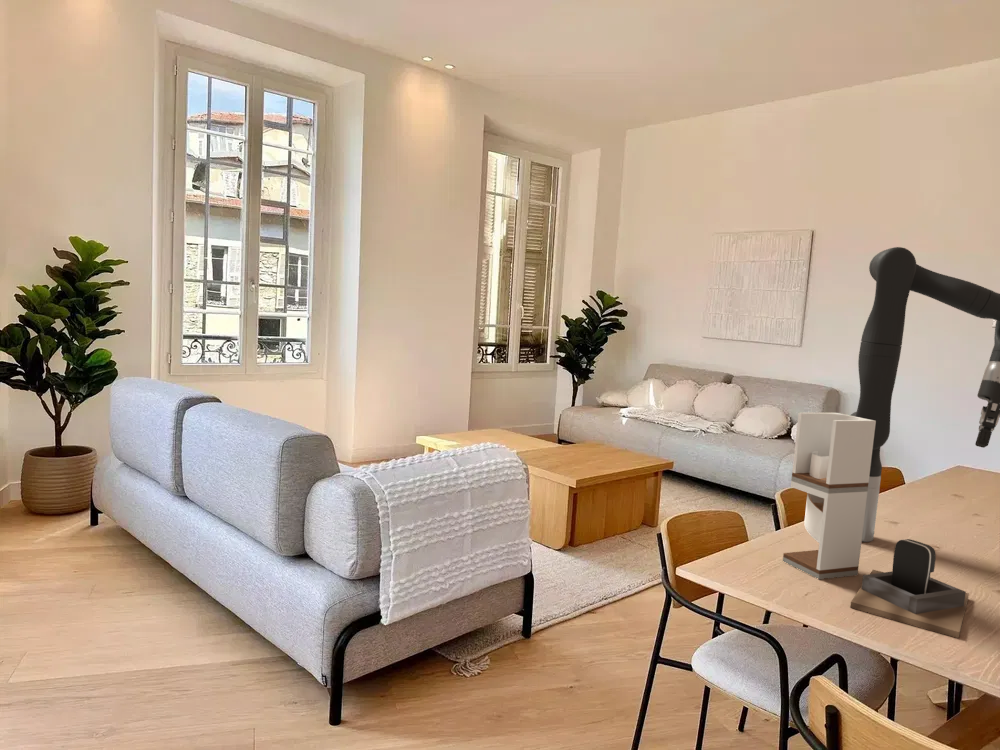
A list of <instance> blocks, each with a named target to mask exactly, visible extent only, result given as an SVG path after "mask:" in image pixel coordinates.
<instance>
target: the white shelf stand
mask: <svg viewBox="0 0 1000 750" xmlns="http://www.w3.org/2000/svg"><path fill="white" fill-rule="evenodd" d="M797 414H798V415H797V424H796V433H795V442H794V443H795V444H794V452H793V462H792V471H791V480H790V488H792V489H796V490H799V491H802V492H804V493H807V495H806V504H805V515H804V521H803V524H804V528H805V530H806V531H807V533H808V534H809V535H810V537H811V538H812V539H813V540H815V541H816V542H817V543H818V549H813V550H802V551H790V552H783V554H782V555H783V556H782V562H783V561H784V562H786V563H788V564H790V565H792V566H794V567H796V568H798V569H800V570H802V571H804V572H806V573H808V574H810V575H812V576H814V577H813V578H815V577H816V578H815V579H817V578H818V579H817V580H825V579H824V578H828V579H835V578H834V577H837V578H844V576H845V577H852V576H853V575H854V576H858V574H859V567H860V566H859V564H860V559H861V558H860V557H861V550H862V542H863V541H862V533H863V525H864V517H865V508H866V500H867V491H868V483H869V475H870V466H871V458H872V449H873V441H874V432H875V424H876V421H874V420H870V419H865V418H860V417H855V416H850V415H851V414H850V415H849V414H846V413H845V414H844V413H840V412H798V413H797ZM784 562H783V563H784ZM786 563H785V564H786ZM788 564H787V565H788ZM790 565H789V566H790ZM792 566H791V567H792ZM794 567H793V568H794ZM796 568H795V569H796ZM798 569H797V570H798ZM800 570H799V571H800ZM802 571H801V572H802ZM804 572H803V573H804ZM806 573H805V574H806ZM808 574H807V575H808ZM810 575H809V576H810ZM812 576H811V577H812ZM854 576H853V577H854Z"/></svg>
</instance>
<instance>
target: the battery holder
mask: <svg viewBox="0 0 1000 750" xmlns="http://www.w3.org/2000/svg"><path fill="white" fill-rule="evenodd" d="M891 581H892V571H887V572H884V571H880V570H876V569H871V571H870V573H868V574H863V575H862V583H861V586H860V588H859V589H858V591H857V593H855V596H853V598H852V599H851V601H850V606H849V607H851V608H850V609H853V608H854V610H856V611H860V610H861V611H860V612H864V613H867V612H868V613H869V614H871V615H876V616H877V617H882V618H886V619H889V620H893V621H896V622H899V623H903V624H907V625H909V626H914V627H918V628H921V629H924V630H927V631H932V632H935V633H938V634H940V635H941V634H942V635H945V636H948V637H953V638H955V639H959V637H960V634H961V630H962V624H963V621H964V618H965V617H964V616H965V613H966V609H967V605H968V600H969V595H970V594H969V592H967V591H965V590H962V589H960V588H958V587H955V586H953V585H951V584H948V583H945V582H942V581H941V580H938V579H936V578H933V577H931V576H930V579H929V584H928V593H926V594H920V595H914V594H912V593H909V592H907V591H905V590H902V589H900V588H898V587H896V586H893V585H891Z"/></svg>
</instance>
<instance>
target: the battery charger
mask: <svg viewBox="0 0 1000 750" xmlns="http://www.w3.org/2000/svg"><path fill="white" fill-rule="evenodd" d="M893 551H894V552H893V560H892V561H893V562H892V571H891V572H892V581H891V585H893V586H896V587H898V588H900V589H902V590H905V591H907V592H909V593H912V594H914V595H920V594H926V593H928V584H929V579H930V577H931V573H934V572H935V568H936V567H935V566H936V558H937V557H936V553H937V552H936V550H935V548H934V547H933V546H931V545H929V544H926V543H923V542H920V541H917V540H914V539H911V538H907V539H903V538H902V539H899V540H898V541H896V543H895V546H894V550H893Z"/></svg>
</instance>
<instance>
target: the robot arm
mask: <svg viewBox="0 0 1000 750" xmlns="http://www.w3.org/2000/svg"><path fill="white" fill-rule="evenodd" d="M916 260H917V259H916V258H915V255H914V254H913V253H912V252H911V251H910V250H909V249H907V248H905V247H901V246H895V247H890V248H888V249H884V250H882V251H880V252H879V253H877V254H875V255H874V256H873V257H872V259H871V260H870V262H869V267H868V268H869V269H868V270H869V271H868V272H869V275H870V276H871V277H872V279H873V280H874V281H875V282H876V283H875V294H874V300H873V304H872V308H871V311H870V313H869V315H868V317H867V320H866V323H865V325H864V328H863V331H862V335H861V340H860V341H861V342H860V346H859V353H858V361H857V362H858V363H857V364H858V379H859V388H860V389H859V391H860V392H859V393H860V394H859V399H858V403H857V408H856V411H854V412H852V413H851V414H850V416H855V417H860V418H865V419H870V420H874V421H876V424H875V432H874V441H873V449H872V458H871V466H870V475H869V483H868V491H867V500H866V508H865V517H864V525H863V533H862V542H864V543H866V542H873V540H874V536H875V529H876V521H877V510H878V506H879V505H878V503H879V495H880V487H881V480H882V470H883V466H882V461H881V447H883V446H884V445H885V444H886V443H887V441H888V439H889V437H890V432H891V411H892V397H893V393H894V392H893V391H894V388H895V384H896V379H897V374H898V368H899V362H900V358H901V353H902V352H901V351H902V347H903V346H902V345H903V339H904V330H905V321H906V320H905V319H906V312H907V311H906V309H907V304H908V299H909V296H910V295H909V294H910V291H911V292H914V293H917V294H920V295H923V296H926V297H928V298H931V299H933V300H936V301H937V302H941V303H942V304H945V305H947V306H949V307H951V308H954V309H957V310H958V311H961V312H964V313H967V314H969V315H972V316H974V317H977V318H979V319H984V320H985V319H987V320H988V319H989V320H995V321H996V322H995V326H994V335H993V337H994V338H993V340H994V343H993V348H992V350H991V353H990V357H989V360H988V363H987V365H986V368H985V370H984V372H983V375H982V378H981V381H980V382H981V383H980V385H979V389H978V392H977V398H979V399H981V400H984V401H987V405H985V406H984V405H983V406H982V408H981V412H980V417H979V422H978V423H979V425H978V434H977V438H976V440H975V443H974V444H975V446H976V447H979V448H986V447H988V446H989V444H990V440H991V436H992V434H993V432H994V431H995V428H996V426H997V425H998V423H999V420H1000V293H999V292H996V291H994V290H992V289H990V288H987V287H984V286H982V285H979V284H976V283H974V282H971V281H968V280H964V279H962V278H956V277H953V276H949V275H946V274H942V273H939V272H936V271H933V270H931V269H928V268H926V267H924V266H921V265H920V264H917V261H916Z"/></svg>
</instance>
